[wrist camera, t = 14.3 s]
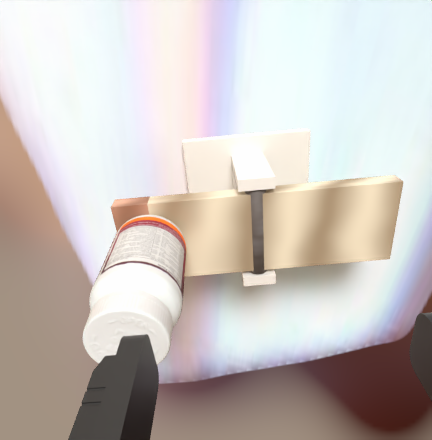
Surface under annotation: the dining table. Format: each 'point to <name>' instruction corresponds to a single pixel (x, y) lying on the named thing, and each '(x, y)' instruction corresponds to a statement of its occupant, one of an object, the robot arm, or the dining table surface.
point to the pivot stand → (248, 168)
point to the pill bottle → (138, 288)
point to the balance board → (278, 224)
